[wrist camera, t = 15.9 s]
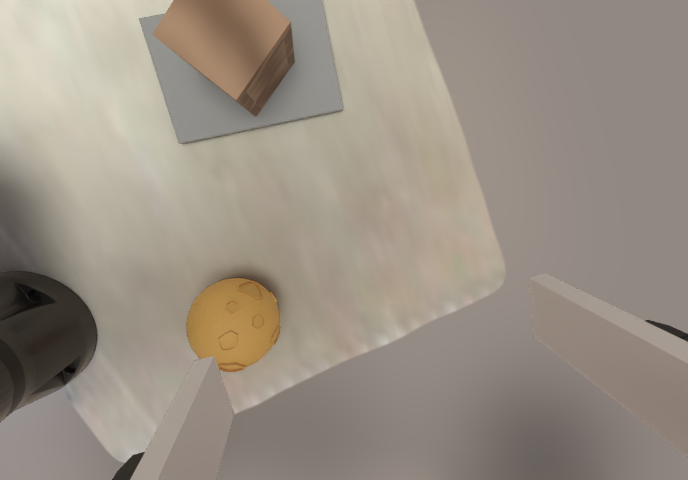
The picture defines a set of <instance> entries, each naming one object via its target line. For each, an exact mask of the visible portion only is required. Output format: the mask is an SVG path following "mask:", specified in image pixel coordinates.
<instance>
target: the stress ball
mask: <svg viewBox="0 0 688 480" xmlns="http://www.w3.org/2000/svg"><path fill="white" fill-rule="evenodd" d="M276 303H278V302H277V300H276V298H275V297H274V295H273V294H272V292H270V293H269V292H268V290H267V289H265V288H264V287H263V285H262V284H260V283H258V282H256V281H255V282H254V281H251V280H248V279H242V278H231V279H225V280H222V281H219V282H216V283H214V284H212V285H211V286H209V287H208V288H206V289H205V290H204V291H203V292H202V293H201V294H200V295H199V296H198V297H197V298H196V299H195V301H194V303H193V304H192V306H191V308H190V311H189V314H188V317H187V324H186V329H187V337H188V340H189V343H190V345H191V348H192V349H193V351H194V352H195V354H196V355H197V356H198V357H199V358H200V359H203V358H207V357H211V356H214V357H215V360H216V363H217V365H218V368H219V369H220V370H222V371H226V372H236V371H240V370H243V369H245V368H246V367H247V366H249V365H252V364H254V363H255V362H257V361H258V360H260V359H261V358H262V357H263V356H265V355H266V354H267V352H268V351H269V350H270V349H271V347H272V346H273V345H275V343H276V341H277V340H278V337H279V333H280V314H279V310H278V306H277V304H276Z"/></svg>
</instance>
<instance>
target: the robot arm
mask: <svg viewBox="0 0 688 480" xmlns="http://www.w3.org/2000/svg"><path fill="white" fill-rule="evenodd" d="M529 287H530V301H531V314H532V328H533V336H534V337H535V338H536V339H537V340H539V341H540V342H541V343H543V344H544V345H545V346H546V347H548V348H549V349H550V350H551V351H553V352H554V353H555V354H557V355H558V356H559V357H560V358H562V359H563V360H565V361H566V362H567V363H568V364H569V365H571V366H572V367H573V368H574V369H576V370H577V371H578V372H580V373H581V374H582V375H583V376H585V377H586V378H587V379H589V380H590V381H591V382H592V383H594V384H595V385H596V386H598V387H599V388H600V389H601V390H603V391H604V392H605V393H607V394H608V395H609V396H610V397H612V398H613V399H614V400H615V401H617V402H618V403H619V404H621V405H622V406H623V407H624V408H626V409H627V410H629V412H631V413H632V414H633V415H635V416H636V417H637V418H638V419H640V420H641V421H642V422H644V423H645V424H646V425H647V426H649V427H650V428H651V429H653V430H654V431H655V432H656V433H658V434H659V435H660V436H662V437H663V438H664V439H665V440H667V441H668V442H669V443H671V444H672V445H673V446H674V447H676V448H677V449H678V450H679V451H681V452H682V453H683V454H684V455H686V456H687V457H688V334H687V333H684V332H682V331H680V330H678V329H676V328H673V327H671V326H668V325H665V324H661V323H657V322H654V321H650V320H646V321H643V320H641V319H639V318H637V317H635V316H633V315H631V314H629V313H626V312H625V311H623V310H620V309H618V308H616V307H614V306H612V305H610V304H608V303H606V302H604V301H602V300H600V299H598V298H595V297H593V296H591V295H589V294H587V293H585V292H583V291H581V290H579V289H577V288H575V287H573V286H571V285H568V284H566V283H564V282H562V281H560V280H558V279H556V278H554V277H552V276H550V275H548V274H543V275H539V276H535V277H531V278H529ZM96 338H97V337H96V328H95V324H94V321H93V318H92V316H91V314H90V312H89V310H88V308H87V307H86V306H85V304H84V303H83V302H82V300H81V299H80V298H79V297H78V296H77V295H76V294H75V293H73V292H72V291H71V290H70V289H68V288H67V287H65V286H64V285H62V284H61V283H59V282H57V281H55V280H53V279H50V278H48V277H45V276H42V275H38V274H34V273H29V272H3V273H0V422H1V421H2V420H4V419H5V418H6V417H7V416H8V415H9V414H10V413H12V412H13V411H14V410H17V409H19V408H21V407H23V406H25V405H27V404H30V403H32V402H34V401H36V400H38V399H40V398H42V397H44V396H47V395H49V394H51V393H53V392H55V391H57V390H59V389H61V388H62V387H64V386H65V385H67V384H68V383H69V382H70V381H72V380H73V379H74V378H75V377H76V376H77V375H78V374H79V373H80V372H81V371H82V370H83V369H84V368H85V367H86V366H87V364H88V363H89V362H90V360H91V358H92V356H93V354H94V351H95V347H96ZM233 416H234V411H233V408H232V405H231V403H230V400H229V397H228V394H227V391H226V388H225V385H224V383H223V380H222V377H221V374H220V371H219V368H218V365H217V363H216V360H215V357H214V356H211V357H207V358H203V359H199V360H195V361H194V363H193V364H192V366H191V368H190V370H189V372H188V374H187V376H186V377H185V379H184V381H183V383H182V385H181V387H180V388H179V390H178V392H177V394H176V396H175V398H174V400H173V401H172V403H171V405H170V407H169V409H168V411H167V412H166V414H165V416H164V418H163V420H162V422H161V424H160V425H159V427H158V429H157V431H156V433H155V435H154V436H153V438H152V440H151V442H150V444H149V446H148V447H147V449H146V451H145V452H143V453H139V454H135V455H133V456H132V457H131V458H130V459H129V460H128V461H127V462H126V463H125V464H124V465H123V466H122V467H121V468H120V469H119V470H118V471H117V473H116V475H115V476H114V478H113V479H112V480H216V477H217V474H218V470H219V466H220V463H221V459H222V455H223V452H224V448H225V445H226V441H227V437H228V434H229V430H230V426H231V423H232V419H233Z"/></svg>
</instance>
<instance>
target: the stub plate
mask: <svg viewBox="0 0 688 480" xmlns="http://www.w3.org/2000/svg"><path fill="white" fill-rule="evenodd" d="M267 1H268V2H269V3H271V4H272V5H273V6H274V7H275V8H276V9H277V10H278V11H280V12H281V13H282V14H283V15H284V16H285V17H286V18H287V19H289V20H290V21H291V28H292V38H293V48H294V58H295V63H294V64H293V65H292V67H291V68H290V70H289V71H288V73H287V74H286V75H285V77H284V78H283V80H282V81H281V82H280V84H279V85H278V87H277V88H276V89H275V91H274V92H273V94H272V95H271V97H270V98H269V99H268V101H267V102H266V104H265V105H264V106H263V108H262V109H261V111H260V112H259V114H258V115H257V116H256V117H255V116H254V115H253V114H252V113H250V112H249V111H248V110H246V109H245V108H244V107H243V106H241V105H240V104H239V103H238V102H236V101H235V100H234V99H232V98H231V97H230V96H229V95H227V94H226V93H225V92H224V91H222V90H221V89H220V88H218V87H217V86H216V85H215V84H213V83H212V82H211V81H210V80H208V79H207V78H206V77H204V76H203V75H202V74H201V73H199V72H198V71H197V70H196V69H194V68H193V67H192V66H191V65H189V64H188V63H187V62H186V61H185V60H183V59H182V58H181V57H180V56H178V55H177V54H176V53H175V52H173V51H172V50H171V49H170V48H168V47H167V46H166V45H165V44H163V43H162V42H161V41H160V40H159V39H157V38H156V37H155V36H154V35H152V34H153V32H154V31H155V29H156V28H157V26H158V24H159V23H160V21H161V20H162V18H163V17H164V15H165V14H160V15H155V16H149V17H144V18H139V21H140V24H141V27H142V30H143V33H144V36H145V39H146V42H147V46H148V49H149V52H150V55H151V58H152V61H153V64H154V67H155V70H156V74H157V77H158V80H159V83H160V86H161V89H162V92H163V95H164V98H165V102H166V105H167V108H168V111H169V114H170V117H171V120H172V123H173V126H174V130H175V133H176V136H177V139H178V142H179V144H186V143H191V142H196V141H201V140H205V139H210V138H215V137H220V136H225V135H229V134H234V133H239V132H244V131H248V130H253V129H258V128H263V127H267V126H272V125H277V124H282V123H287V122H291V121H296V120H301V119H306V118H310V117H315V116H320V115H325V114H329V113H334V112H339V111H342V110H343V105H342V100H341V95H340V90H339V84H338V79H337V74H336V69H335V64H334V59H333V54H332V49H331V44H330V39H329V34H328V29H327V24H326V18H325V13H324V8H323V3H322V0H267Z"/></svg>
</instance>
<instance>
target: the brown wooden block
mask: <svg viewBox="0 0 688 480" xmlns="http://www.w3.org/2000/svg"><path fill="white" fill-rule="evenodd" d="M152 35H154V36H155V37H156V38H157V39H159V40H160V41H161V42H162V43H163V44H165V45H166V46H167V47H168V48H170V49H171V50H172V51H173V52H175V53H176V54H177V55H178V56H180V57H181V58H182V59H183V60H185V61H186V62H187V63H188V64H189V65H191V66H192V67H193V68H194V69H196V70H197V71H198V72H199V73H201V74H202V75H203V76H204V77H206V78H207V79H208V80H210V81H211V82H212V83H213V84H215V85H216V86H217V87H218V88H220V89H221V90H222V91H224V92H225V93H226V94H227V95H229V96H230V97H231V98H232V99H234V100H235V101H236V102H238V103H239V104H240V105H241V106H243V107H244V108H245V109H246V110H248V111H249V112H250V113H252V114H253V115H254V116H255V117H256V116H257V115H258V114H259V112H260V111H261V109H262V108H263V106H264V105H265V104H266V102H267V101H268V99H269V98H270V97H271V95H272V94H273V92H274V91H275V89H276V88H277V87H278V85H279V84H280V82H281V81H282V80H283V78H284V77H285V75H286V74H287V73H288V71H289V70H290V68H291V67H292V65H293V64H294V63H295V58H294V48H293V38H292V28H291V21H290V20H289V19H287V18H286V17H285V16H284V15H283V14H282V13H281V12H280V11H278V10H277V9H276V8H275V7H274V6H273V5H272V4H271V3H269V2H268V1H267V0H174V1H173V3H172V4H171V6H170V7H169V9H168V10H167V12H166V13H165V15H164V17H163V18H162V20H161V21H160V23H159V24H158V26H157V28H156V29H155V31H154V32H153V34H152Z"/></svg>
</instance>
